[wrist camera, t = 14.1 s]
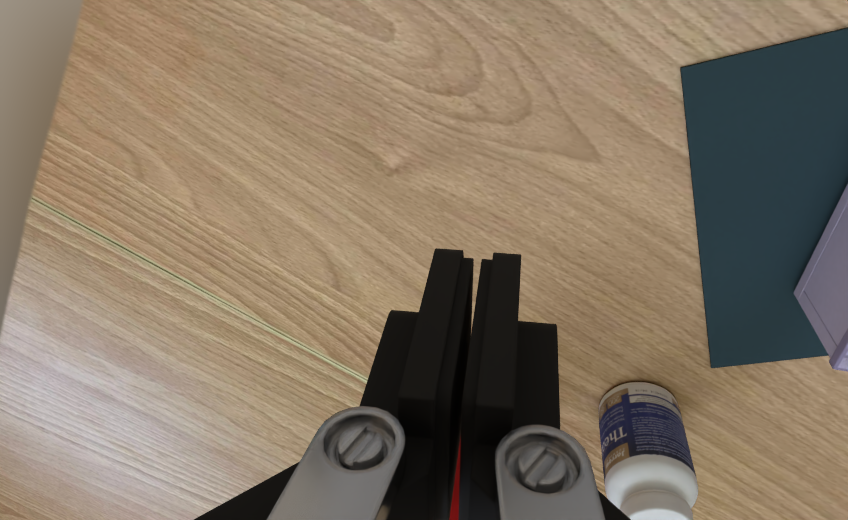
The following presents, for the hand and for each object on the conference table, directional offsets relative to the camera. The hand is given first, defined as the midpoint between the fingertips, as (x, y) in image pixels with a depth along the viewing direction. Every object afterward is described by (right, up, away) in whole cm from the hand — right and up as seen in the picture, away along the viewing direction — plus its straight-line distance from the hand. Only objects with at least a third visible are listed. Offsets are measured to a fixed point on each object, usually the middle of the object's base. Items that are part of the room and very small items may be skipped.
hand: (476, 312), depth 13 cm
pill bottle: (+14, -9, +32) cm, 36 cm away
